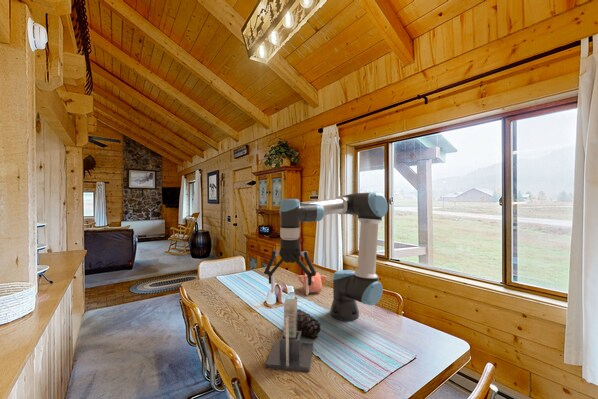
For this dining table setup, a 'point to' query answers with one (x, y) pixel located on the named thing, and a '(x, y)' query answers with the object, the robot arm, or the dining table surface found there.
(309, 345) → the stand base
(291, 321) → the column
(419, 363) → the dining table surface
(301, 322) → the pine cone
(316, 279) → the teapot
